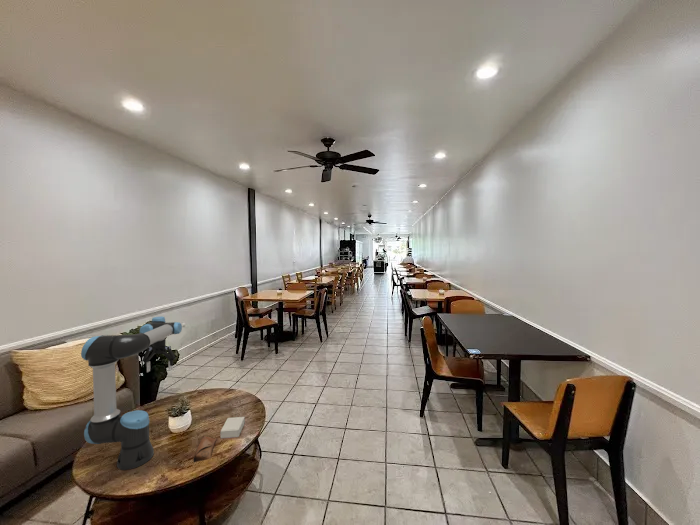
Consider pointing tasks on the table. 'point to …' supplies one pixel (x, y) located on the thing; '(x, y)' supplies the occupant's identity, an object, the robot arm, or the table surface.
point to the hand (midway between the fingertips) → (159, 370)
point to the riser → (232, 427)
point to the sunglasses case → (204, 449)
